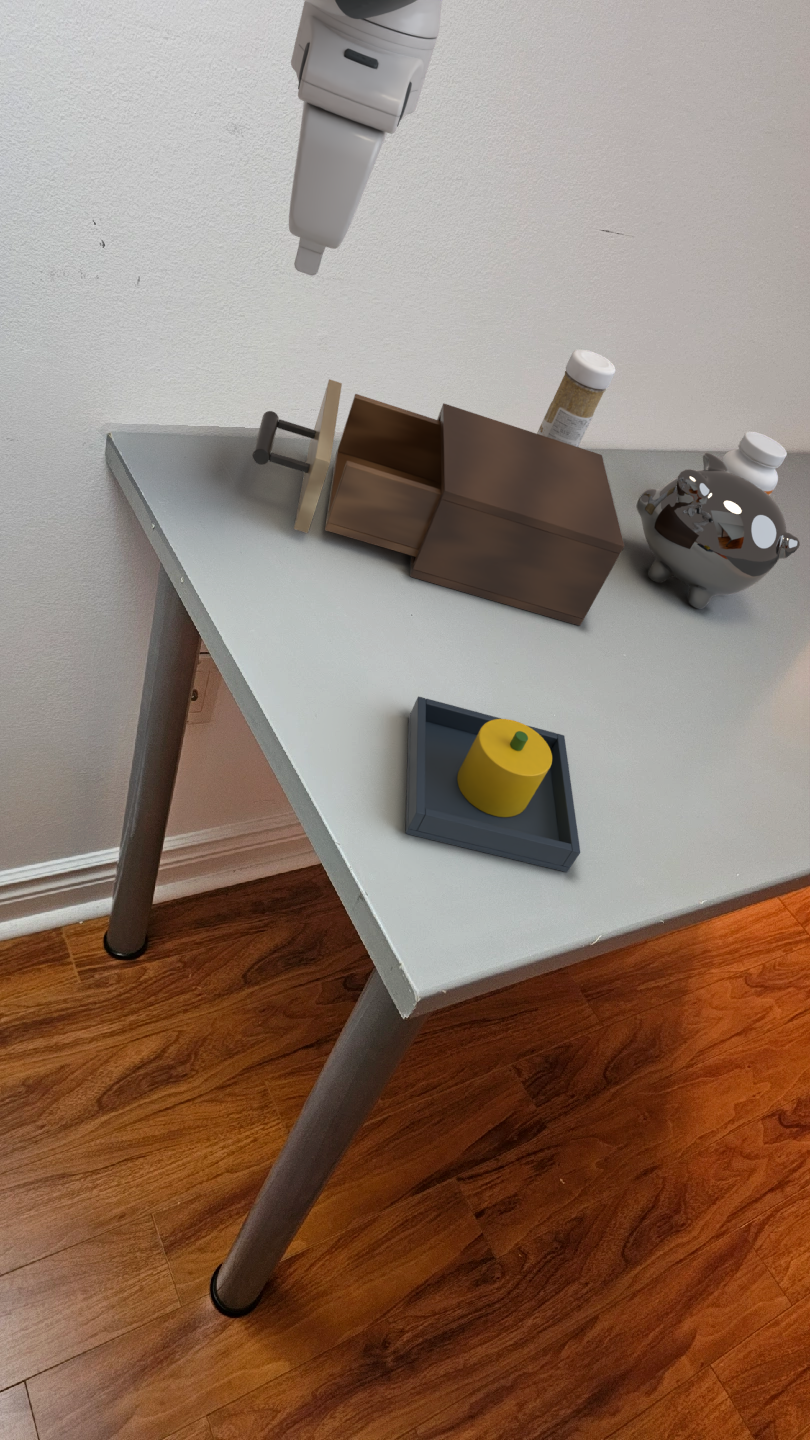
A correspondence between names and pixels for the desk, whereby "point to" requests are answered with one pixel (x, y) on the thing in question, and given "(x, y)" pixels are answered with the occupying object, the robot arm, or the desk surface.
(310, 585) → the desk surface
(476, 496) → the cabinet
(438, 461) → the drawer
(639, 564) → the desk surface
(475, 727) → the tray
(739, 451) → the pill bottle
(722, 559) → the piggy bank
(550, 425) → the sprinkles bottle
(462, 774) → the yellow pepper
